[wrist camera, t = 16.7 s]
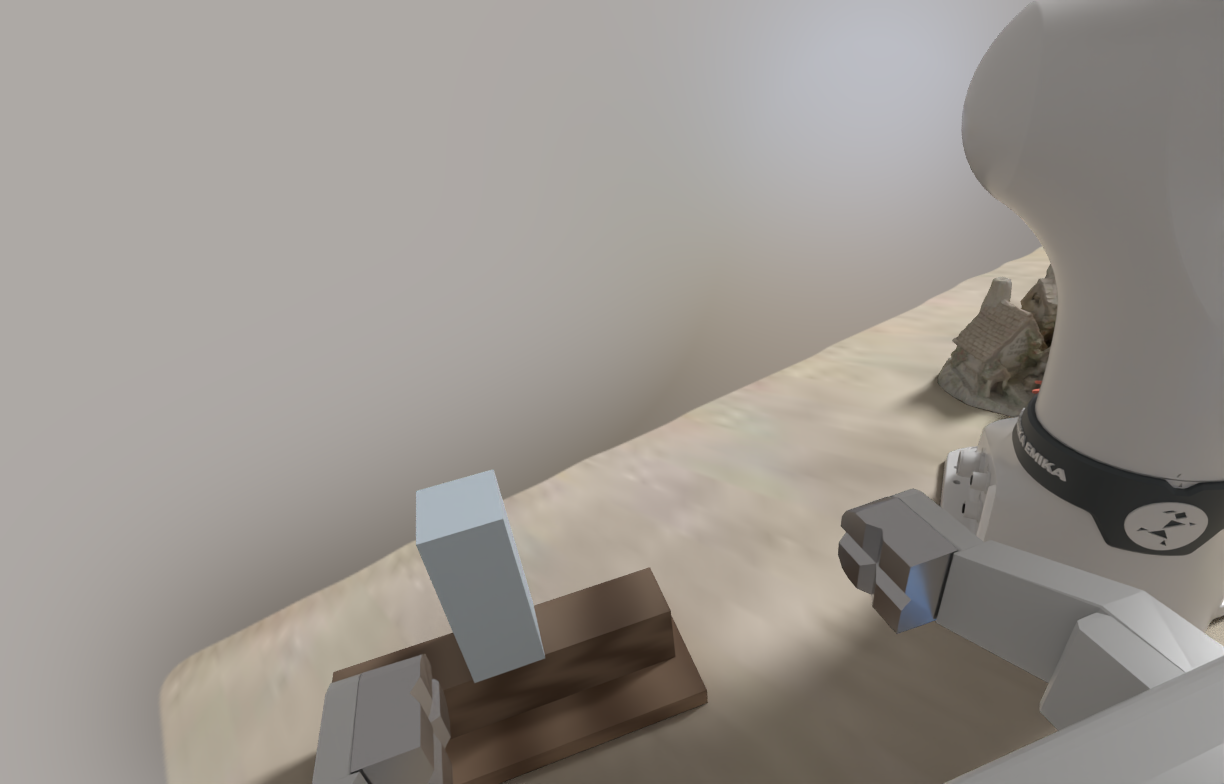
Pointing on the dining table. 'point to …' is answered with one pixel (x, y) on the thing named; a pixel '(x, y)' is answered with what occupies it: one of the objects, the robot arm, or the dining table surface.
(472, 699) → the stand
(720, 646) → the dining table surface
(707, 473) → the dining table surface
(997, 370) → the ceramic cottage
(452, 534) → the pillar
